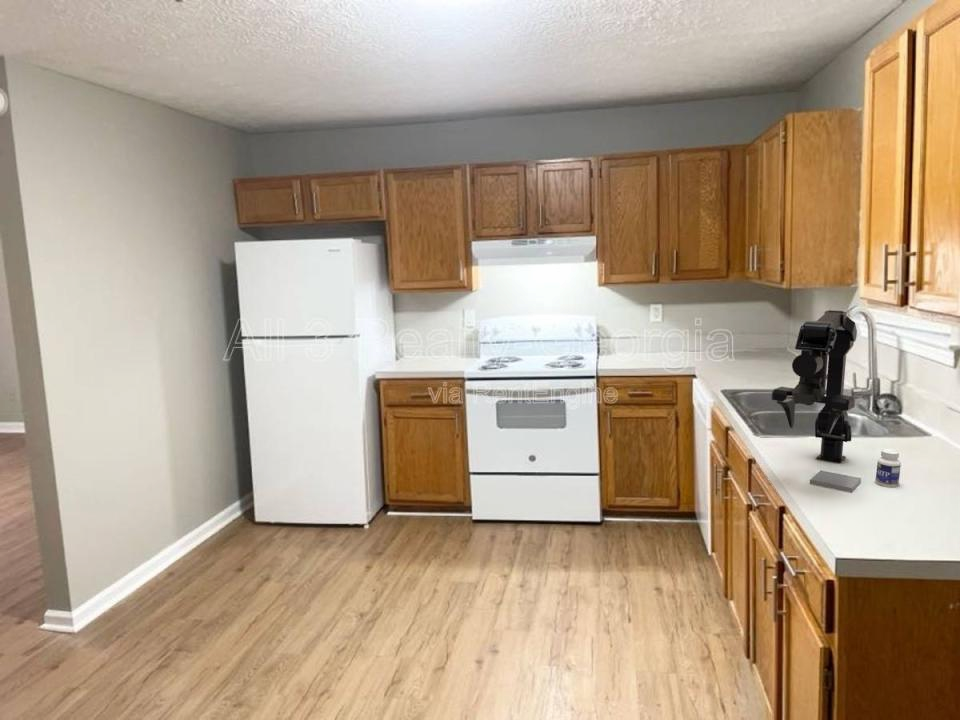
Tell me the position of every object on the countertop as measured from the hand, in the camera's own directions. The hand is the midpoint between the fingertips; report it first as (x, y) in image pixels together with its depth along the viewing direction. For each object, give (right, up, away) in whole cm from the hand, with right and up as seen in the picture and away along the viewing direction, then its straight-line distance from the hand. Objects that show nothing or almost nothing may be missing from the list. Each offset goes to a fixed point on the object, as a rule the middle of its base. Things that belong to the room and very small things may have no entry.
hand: (809, 430), depth 183 cm
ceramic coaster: (+8, -14, +3) cm, 17 cm away
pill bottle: (+21, -14, +2) cm, 26 cm away
